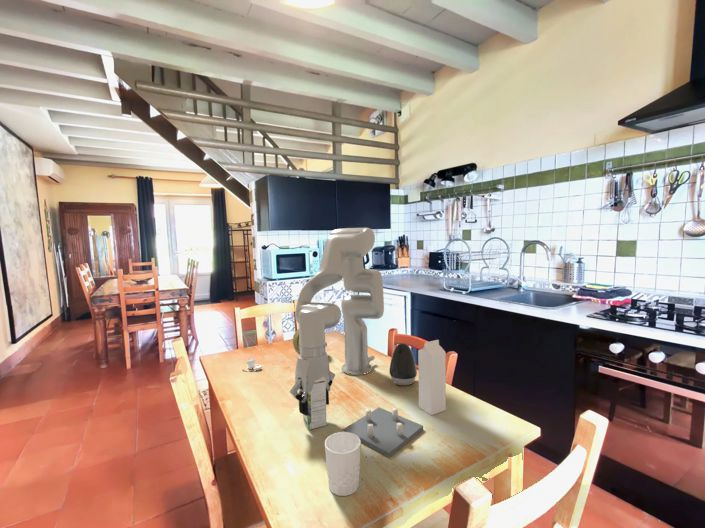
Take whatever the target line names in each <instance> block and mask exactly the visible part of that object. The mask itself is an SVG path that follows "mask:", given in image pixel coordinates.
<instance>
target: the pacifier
mask: <svg viewBox="0 0 705 528" xmlns="http://www.w3.org/2000/svg"><path fill="white" fill-rule="evenodd" d="M246 363H247V366H248V367H247V368H248V369H249V370H252V371H253V370H257V371H260V370H262V369H263V365H261V364H258V365H259V366H255V365H256V359H255V358H249V359H247V360H246ZM251 368H253V369H251Z"/></svg>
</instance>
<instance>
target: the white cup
mask: <svg viewBox="0 0 705 528" xmlns="http://www.w3.org/2000/svg"><path fill="white" fill-rule="evenodd" d="M361 444H362V443H361V441H360V438H359V437H358V436H357V435H355V434H353V433H350V432H344V431H337V432H335V433H332V434H330V435H329V436H327V437H326V439H325V440H324V450H325V451H324V452H325V464H326V473H327V480H328V481H327V482H328V489H329V490H330V491H331V493H332V494H333V495H335V496H339V497H347V496H351V495H353V494H354V493H355V492H357V490H358V489H359V486H360V473H361V471H360V470H361Z"/></svg>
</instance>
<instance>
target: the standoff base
mask: <svg viewBox="0 0 705 528" xmlns="http://www.w3.org/2000/svg"><path fill="white" fill-rule="evenodd" d="M398 410H399V408H396V407H393V408H392V411H390V410H389V411H388V410H387V409H385V408H382V407H380V406H379V407H377V408H376V409H374V410H371V408H370V409H368V408H366V409H365V415H364V416H362V417H361V418H359V419H358V420H356V421H354V422H352V423H351V424H349V425H348V426H346V427H344V428H343V432H350V433H353V434H355V435H357V436H358V437H359V438H360V441H361V444H363V445H365V446H367V447H369V448H371V449H372V450H374V451H376V452H378V453H379V454H382V455H384V456H385V457H387V458H390V457H392V456H393V455H394V454H396V453H397V452H398V451H400V450H401V449H402V448H403V447H404V446H405V445H407V443H409V442H410V441H411V440H413V439H414V438H415V437H416V436H417V435H419V434H420V433H422V432H423V431H424V425H423V424H420V423H418V422H416V421H412V420H410V419H408V418H406V417H403V416H401V415H399V411H398Z"/></svg>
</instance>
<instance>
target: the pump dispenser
mask: <svg viewBox="0 0 705 528" xmlns="http://www.w3.org/2000/svg"><path fill="white" fill-rule="evenodd" d="M417 370H418V369H417V365H416V360H415V356H414V354H413V350H412V349H411V347H410V346H409V344H407V343H404V342H402V343H398V344H397V345H396V347H395V348H394V350H393V352H392V355H391V359H390V365H389V375H390V378H391V380H392V381H393V383H394V384H396V385H399V386H402V385H406V386H409V385H411V384H412V383H414V382H415V380H416V377H417V375H418V371H417Z"/></svg>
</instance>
